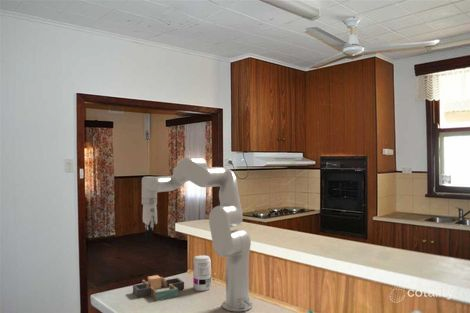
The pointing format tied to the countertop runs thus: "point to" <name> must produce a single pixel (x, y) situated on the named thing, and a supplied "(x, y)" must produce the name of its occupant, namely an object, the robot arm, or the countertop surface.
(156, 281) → the block
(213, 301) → the countertop surface
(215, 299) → the countertop surface
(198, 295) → the countertop surface
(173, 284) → the trap channel
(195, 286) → the supplement can
